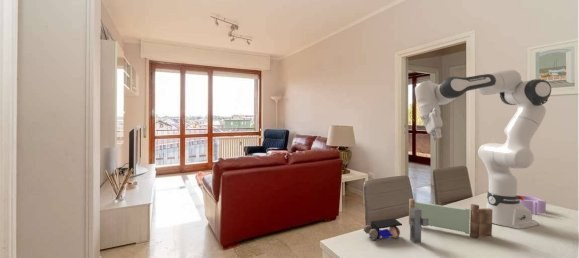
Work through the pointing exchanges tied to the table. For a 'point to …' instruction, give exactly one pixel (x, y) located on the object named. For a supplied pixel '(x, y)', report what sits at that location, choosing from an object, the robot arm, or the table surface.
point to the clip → (533, 204)
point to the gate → (443, 216)
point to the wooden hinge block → (480, 222)
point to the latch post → (416, 224)
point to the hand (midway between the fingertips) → (437, 139)
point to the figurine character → (385, 233)
